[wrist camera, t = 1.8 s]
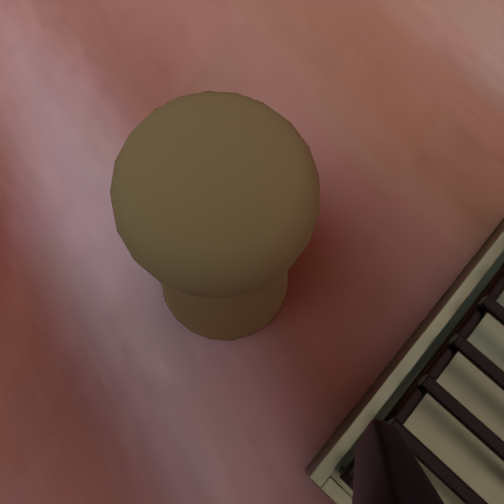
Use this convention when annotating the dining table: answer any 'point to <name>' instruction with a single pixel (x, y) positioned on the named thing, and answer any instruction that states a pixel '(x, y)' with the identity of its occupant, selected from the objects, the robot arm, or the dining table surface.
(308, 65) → the dining table surface
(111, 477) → the dining table surface
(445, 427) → the dish rack
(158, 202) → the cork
